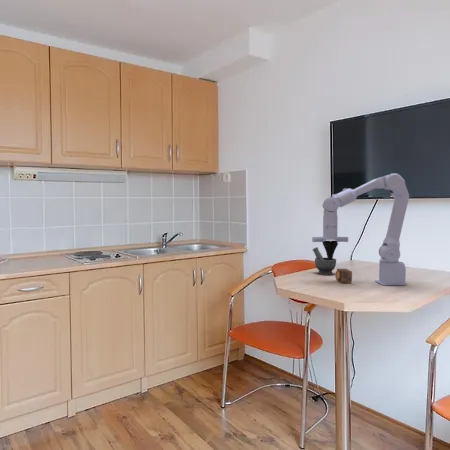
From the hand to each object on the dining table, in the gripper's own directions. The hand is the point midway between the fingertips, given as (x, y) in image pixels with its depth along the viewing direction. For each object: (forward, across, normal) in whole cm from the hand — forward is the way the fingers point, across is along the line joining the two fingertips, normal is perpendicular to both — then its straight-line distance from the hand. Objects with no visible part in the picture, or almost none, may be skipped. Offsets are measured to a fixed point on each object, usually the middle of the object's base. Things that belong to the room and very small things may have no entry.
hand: (329, 259), depth 162 cm
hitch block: (+9, -6, +1) cm, 11 cm away
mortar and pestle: (+10, -3, -19) cm, 21 cm away
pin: (+9, -6, +1) cm, 10 cm away
